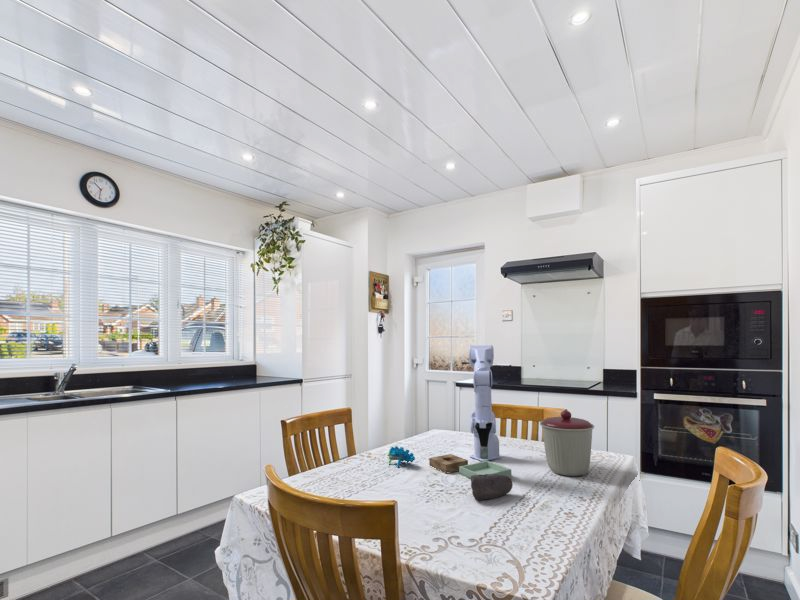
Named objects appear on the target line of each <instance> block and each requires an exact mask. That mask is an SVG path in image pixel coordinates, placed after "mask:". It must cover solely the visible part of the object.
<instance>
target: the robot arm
mask: <svg viewBox="0 0 800 600" xmlns="http://www.w3.org/2000/svg"><path fill="white" fill-rule="evenodd" d="M494 353H495V352H494V346H493V344H490V345H488V344H487V345H472V344H470V345H469V346H468V359H469V364H470V365H469V366H470V367H472V368H473V372H472V383H473V387H474V388H473V390H474V391H473V392H474V411H472V412H471V413H470V433H471V434H473V441H474V442H473V443H474V445H473V446H474V447H473V448H474V454H472V455H470V456H469V457H470V458H473V459H475V460H478V461H480V462H484V461H493V460H497V459H498V460H499V459H501V458H502V456H500V440H499V437H498V436H497V434H496V433H497V424H496V423H497V422H496V421H497V420H496V414H495V413H494V412H493V409H492V401H493V400H492V387H493V373H492V370H491V367H494V365H493V364H494V359H495V358H494ZM480 445H481V447H487V445H488V459H481V458H480Z"/></svg>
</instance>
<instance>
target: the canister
mask: <svg viewBox="0 0 800 600" xmlns="http://www.w3.org/2000/svg"><path fill="white" fill-rule="evenodd" d="M539 425H540V426H541V431H542V438H543V445H544V452H545V457H546V462H547V466H548V468H549V469H550V471H552V472H553V473H556V474H558V475H561V476H567V477H579V476H584V475H585V474H587V473H588V471H589V470H590V463H591V455H592V442H593V430H594V429H595V425H594V424H593V423H592V422H589V420H586V419H583V418H579V417H578V418H577V417H572V413H571V411H569V410H562V411H561V412H560V416H552V417H547V418H544V419H543V420H541V421H540V422H539Z"/></svg>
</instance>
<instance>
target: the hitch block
mask: <svg viewBox="0 0 800 600" xmlns="http://www.w3.org/2000/svg"><path fill="white" fill-rule="evenodd" d="M428 459H429V461H428V462H429V463H428V464H429V465H430V466H432V467H434V468H436V469H435V470H437V469H439V470H441V471H443V472H445V473H444V474H448V473H447V472H451V473H454V472H453V471H456V472H458V471H457V470H459V467H460V466H465V465H469V460H468V459H465V458H463V457H461V456H457V455H455V454H452V453H449V454H443V455H438V456H433V457H429V458H428ZM430 466H429V467H430ZM432 467H431V468H432ZM434 468H433V469H434ZM439 470H438V471H439ZM441 471H440V472H441ZM443 472H442V473H443Z"/></svg>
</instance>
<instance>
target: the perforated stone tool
mask: <svg viewBox="0 0 800 600" xmlns="http://www.w3.org/2000/svg"><path fill="white" fill-rule="evenodd" d="M470 487H471V488H470V489H471V491H472V493H471V494H472V497H474V498H473V499H474V500H476V501H477V500H478V501H479V500H484V501H485V500H486V501H487V500H492V499H497V498H500V497H503V496H506V495H508V494H509V493H510V492H511V490H512V489H513V480H512V478H511V477H507V476H505V475H501V474H484V475H473V476H471V479H470Z"/></svg>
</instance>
